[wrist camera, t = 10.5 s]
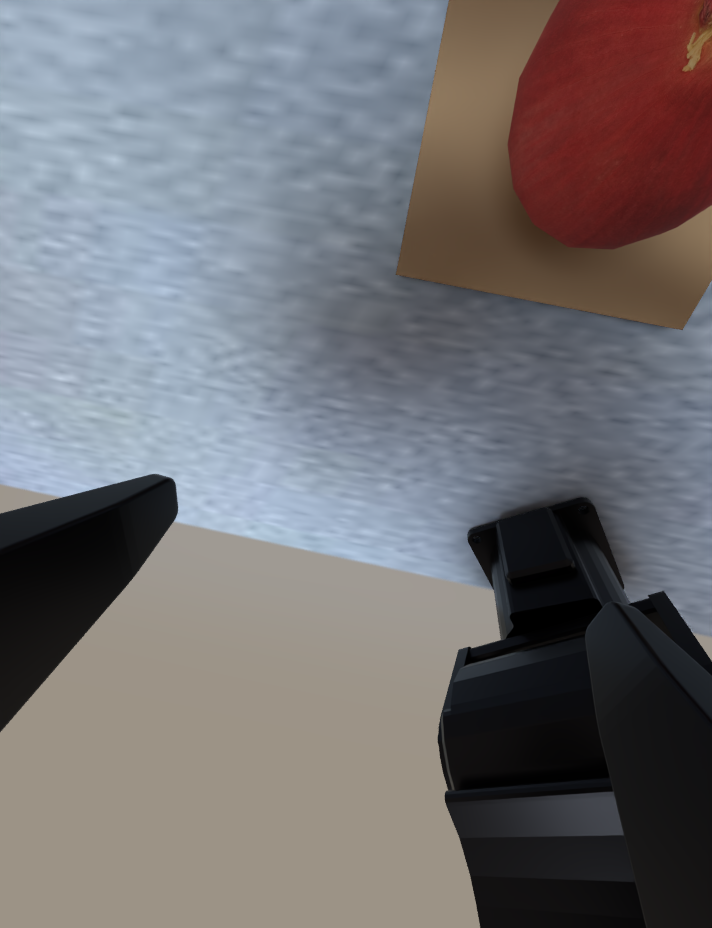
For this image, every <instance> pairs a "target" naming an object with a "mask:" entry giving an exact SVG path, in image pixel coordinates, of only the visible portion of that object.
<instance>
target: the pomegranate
mask: <svg viewBox="0 0 712 928" xmlns="http://www.w3.org/2000/svg"><path fill="white" fill-rule="evenodd" d="M508 153H509V160H510V168H511V175H512V183H513V189H514V191H515V193H516V195H517V196H518V198H519V200H520V202H521V204H522V205H523V207H524V209H525V211H526V212H527V214H528V216H529V218H530V219H531V221H532V223H533V224H534V225H535V226H537V227H538V228H540V229H541V230H543V231H544V232H546V233H547V234H549V235H550V236H552V237H553V238H555V239H556V240H558V241H559V242H561V243H562V244H564V245H566V246H567V247H570V248H591V249H611V250H613V249H616V248H619V247H622V246H625V245H629V244H632V243H635V242H638V241H641V240H644V239H647V238H650V237H653V236H656V235H660V234H662V233H665V232H667V231H670V230H672V229H674V228H677V227H678V226H680V225H682V224H683V223H685V222H686V221H688V220H689V219H691V218H693V217H694V216H696V215H697V214H699V213H700V212H702V211H704V210H705V209H707V208H708V207H710V206H712V0H559V2H558V4H557V5H556V7H555V9H554V11H553V12H552V14H551V16H550V18H549V20H548V22H547V24H546V26H545V28H544V30H543V32H542V34H541V36H540V38H539V40H538V42H537V44H536V46H535V48H534V49H533V51H532V53H531V55H530V57H529V59H528V61H527V63H526V65H525V67H524V69H523V71H522V73H521V75H520V77H519V82H518V87H517V93H516V99H515V104H514V110H513V116H512V121H511V127H510V132H509V138H508Z"/></svg>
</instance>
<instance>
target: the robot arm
mask: <svg viewBox="0 0 712 928" xmlns="http://www.w3.org/2000/svg"><path fill="white" fill-rule="evenodd" d="M582 506H586V508H585V509H584V510H578V509H579V508H580V507H582ZM177 513H178V502H177V492H176V484H175V482H174V480H173V479H172V478H169V477H166V476H162V475H159V474H151V475H147V476H143V477H139V478H136V479H132V480H128V481H124V482H120V483H116V484H112V485H109V486H105V487H101V488H97V489H93V490H89V491H85V492H82V493H78V494H74V495H70V496H66V497H62V498H59V499H55V500H51V501H47V502H43V503H39V504H35V505H32V506H28V507H24V508H20V509H17V510H13V511H9V512H5V513H1V514H0V732H1V731H2V729H3V728H4V727H5V726H6V725H7V724H8V723H9V721H10V720H11V719H12V718H13V717H14V715H16V713H17V712H18V711H19V710H20V709H21V708H22V706H23V705H24V704H25V703H26V702H27V701H28V699H29V698H30V697H31V696H32V695H33V694H34V692H35V691H36V690H37V689H38V688H39V687H40V685H41V684H42V683H43V682H44V681H45V680H46V679H47V678H48V676H49V675H50V674H51V673H52V672H53V671H54V669H55V668H56V667H57V666H58V665H59V663H60V662H61V661H62V660H63V659H64V658H65V657H66V656H67V654H68V653H69V652H70V651H71V650H72V649H73V647H74V646H75V645H76V644H77V642H79V640H80V639H81V638H82V637H83V636H84V634H85V633H86V632H87V631H88V630H89V629H90V628H91V626H92V625H93V624H94V623H95V622H96V621H97V620H98V618H99V617H100V616H101V615H102V614H103V613H104V611H105V610H106V609H107V608H108V607H109V606H110V605H111V603H112V602H113V601H114V600H115V599H116V598H117V596H118V595H119V594H120V593H121V592H122V591H123V589H124V588H125V587H126V586H127V585H128V584H129V582H130V581H131V580H132V579H133V577H134V576H135V575H136V573H137V572H138V571H139V569H140V568H141V567H142V565H143V564H144V563H145V561H146V559H147V558H148V557H149V555H150V554H151V553H152V551H153V550H154V548H155V547H156V546H157V544H158V543H159V541H160V540H161V538H162V537H163V536H164V534H165V533H166V531H167V530H168V528H169V527H170V526H171V524H172V523H173V521H174V520H175V518H176V516H177ZM477 536H478V537H480V538H479V539H474V538H473V537H477ZM467 538H468V543H469V545H470V546H471V548H472V550H473V552H474V554H475V556H476V558H477V560H478V561H479V563H480V565H481V567H482V569H483V571H484V573H485V574H486V576H487V578H488V580H489V582H490V584H491V586H492V587H493V589H494V593H495V601H496V607H497V615H498V622H499V629H500V636H501V640H500V641H496V642H492V643H489V644H486V645H482V646H479V647H475V648H471V647H467V648H463V649H459V651H458V654H457V658H456V662H455V666H454V669H453V673H452V677H451V680H450V684H449V687H448V691H447V695H446V699H445V703H444V706H443V710H442V713H441V717H440V723H439V734H438V744H439V751H440V759H441V764H442V769H443V774H444V777H445V780H446V784H447V787H448V791H446V792H445V803H446V805H447V808H448V811H449V813H450V815H451V818H452V821H453V823H454V825H455V828H456V830H457V833H458V835H459V838H460V841H461V844H462V848H463V852H464V855H465V859H466V862H467V866H468V869H469V873H470V876H471V881H472V886H473V891H474V896H475V900H476V905H477V911H478V917H479V922H480V928H712V661H711V660H710V658H709V657H708V655H707V654H706V652H705V651H704V649H703V648H702V646H701V645H700V643H699V642H698V641H697V639H696V638H695V636H694V635H693V633H692V632H691V630H690V629H689V627H688V626H687V624H686V623H685V621H684V620H683V618H682V617H681V616H680V614H679V613H678V611H677V610H676V608H675V607H674V605H673V604H672V602H671V601H670V599H669V598H668V596H667V595H666V594H665V592H664V591H662V592H658V593H655V594H651V595H648V596H649V598H648V599H644V600H641V601H637V602H634V603H630V601H629V600H628V598H627V596H626V594H625V592H624V584H623V581H622V578H621V576H620V573H619V570H618V568H617V565H616V562H615V560H614V557H613V554H612V552H611V549H610V546H609V544H608V541H607V538H606V536H605V533H604V530H603V528H602V525H601V522H600V520H599V517H598V514H597V512H596V509H595V507H594V505H593V504H592V502H591V501H590V500H589V499H587V498H578V499H574V500H571V501H567V502H564V503H561V504H557V505H554V506H550V507H547V508H541V509H538V510H534V511H531V512H528V513H524V514H521V515H517V516H514V517H511V518H507V519H504V520H500V521H499V522H495V523H492V524H488V525H485V526H482V527H478V528H475V529H472V530H470V531H469V532H468V535H467Z"/></svg>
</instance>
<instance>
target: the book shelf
mask: <svg viewBox="0 0 712 928" xmlns="http://www.w3.org/2000/svg"><path fill="white" fill-rule="evenodd" d="M558 2H559V0H449V3H448V8H447V13H446V19H445V24H444V29H443V34H442V39H441V44H440V50H439V55H438V60H437V65H436V70H435V75H434V81H433V86H432V91H431V96H430V101H429V106H428V111H427V117H426V122H425V127H424V132H423V137H422V142H421V148H420V153H419V158H418V163H417V168H416V173H415V179H414V184H413V189H412V194H411V199H410V204H409V210H408V215H407V220H406V225H405V230H404V235H403V241H402V246H401V251H400V256H399V261H398V266H397V272H396V275H400V276H405V277H410V278H416V279H421V280H426V281H431V282H436V283H442V284H447V285H452V286H457V287H462V288H467V289H473V290H478V291H483V292H488V293H493V294H498V295H504V296H509V297H514V298H519V299H524V300H530V301H535V302H540V303H545V304H550V305H555V306H561V307H566V308H571V309H576V310H581V311H586V312H592V313H597V314H602V315H607V316H612V317H618V318H623V319H628V320H633V321H638V322H643V323H649V324H654V325H659V326H664V327H669V328H674V329H680V330H683V328H684V326H685V325H686V323H687V321H688V319H689V318H690V316H691V314H692V313H693V311H694V309H695V308H696V306H697V304H698V303H699V301H700V299H701V297H702V296H703V294H704V292H705V291H706V289H707V287H708V286H709V284H710V282H711V281H712V206H710V207H708V208H707V209H705V210H704V211H702V212H700V213H699V214H697V215H696V216H694V217H693V218H691V219H689V220H688V221H686V222H685V223H683V224H682V225H680V226H678V227H677V228H674V229H672V230H670V231H667V232H665V233H662V234H660V235H656V236H653V237H650V238H647V239H644V240H641V241H638V242H635V243H632V244H629V245H625V246H622V247H619V248H616V249H613V250H611V249H591V248H570V247H567V246H566V245H564V244H562V243H561V242H559V241H558V240H556V239H555V238H553V237H552V236H550V235H549V234H547V233H546V232H544V231H543V230H541V229H540V228H538V227H537V226H535V225H534V224H533V223H532V221H531V219H530V218H529V216H528V214H527V212H526V211H525V209H524V207H523V205H522V204H521V202H520V200H519V198H518V196H517V195H516V193H515V191H514V189H513V183H512V175H511V168H510V160H509V153H508V138H509V132H510V127H511V121H512V116H513V110H514V104H515V99H516V93H517V87H518V82H519V77H520V75H521V73H522V71H523V69H524V67H525V65H526V63H527V61H528V59H529V57H530V55H531V53H532V51H533V49H534V48H535V46H536V44H537V42H538V40H539V38H540V36H541V34H542V32H543V30H544V28H545V26H546V24H547V22H548V20H549V18H550V16H551V14H552V12H553V11H554V9H555V7H556V5H557V4H558Z"/></svg>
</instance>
